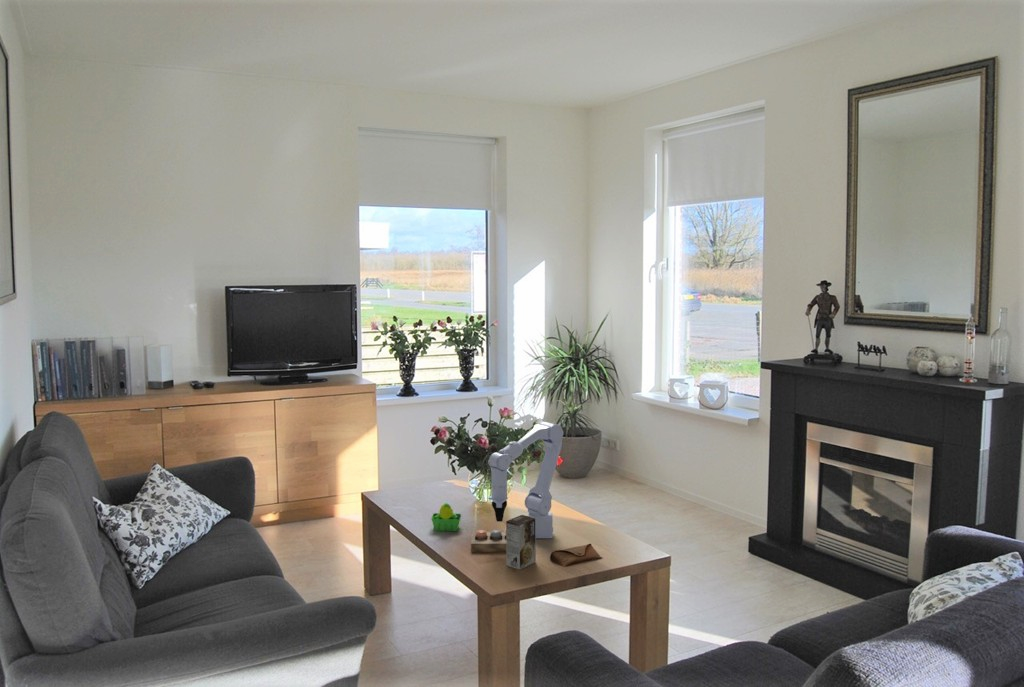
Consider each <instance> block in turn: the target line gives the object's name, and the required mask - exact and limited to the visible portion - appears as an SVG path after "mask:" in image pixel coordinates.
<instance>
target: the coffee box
mask: <svg viewBox="0 0 1024 687" xmlns="http://www.w3.org/2000/svg"><path fill="white" fill-rule="evenodd" d="M505 522H506V523H505V525H506V527H505V528H506V551H505V552H506V566H507V567H510V568H513V569H516V570H522V569H525V568H526V567H528V566H530V565H532V564H534V563H536V562H537V561H536V552H537V550H536V547H537V546H536V538H535V518H531V517H529V515H524V514H520V515H518V516H515V517H513V518H511V519H508V520H506V521H505Z"/></svg>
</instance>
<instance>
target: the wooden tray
mask: <svg viewBox="0 0 1024 687" xmlns="http://www.w3.org/2000/svg"><path fill="white" fill-rule="evenodd" d="M470 547H471V548H470V551H471V553H472V552H475V553H476V552H478V553H479V552H483V553H484V552H496V553H497V552H506V534H505V531H501V537H500V540H492V537H491V531H487V537H485V540H478V538H477V537H476V531H472V534H471V542H470Z"/></svg>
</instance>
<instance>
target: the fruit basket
mask: <svg viewBox="0 0 1024 687" xmlns="http://www.w3.org/2000/svg"><path fill="white" fill-rule="evenodd" d="M461 517H462V514H461V513H454V509H453V508H452V506H451V505H450V504H449V503H448V502H445V503H444V504H442V505H441V507H440V509H439V513H438V512H436V513H435V512H434V513H432V516H431V518H430V519H431V522H432V526H433V529H434V531H440V532H441V531H444V532H445V531H452V532H453V531H454V532H457V531H458V529H459V525H460V521H461Z"/></svg>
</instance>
